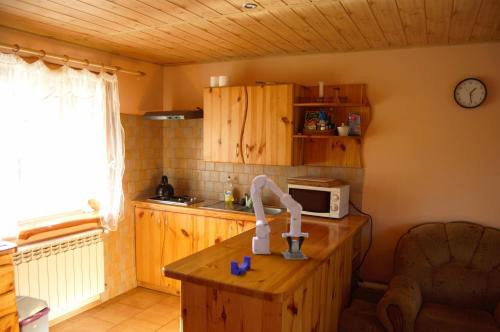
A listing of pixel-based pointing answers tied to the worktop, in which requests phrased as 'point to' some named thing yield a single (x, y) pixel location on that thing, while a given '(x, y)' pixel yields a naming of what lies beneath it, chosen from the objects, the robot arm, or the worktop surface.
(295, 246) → the cylinder
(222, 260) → the worktop surface
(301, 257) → the grey square tray
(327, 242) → the worktop surface
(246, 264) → the cable clip
